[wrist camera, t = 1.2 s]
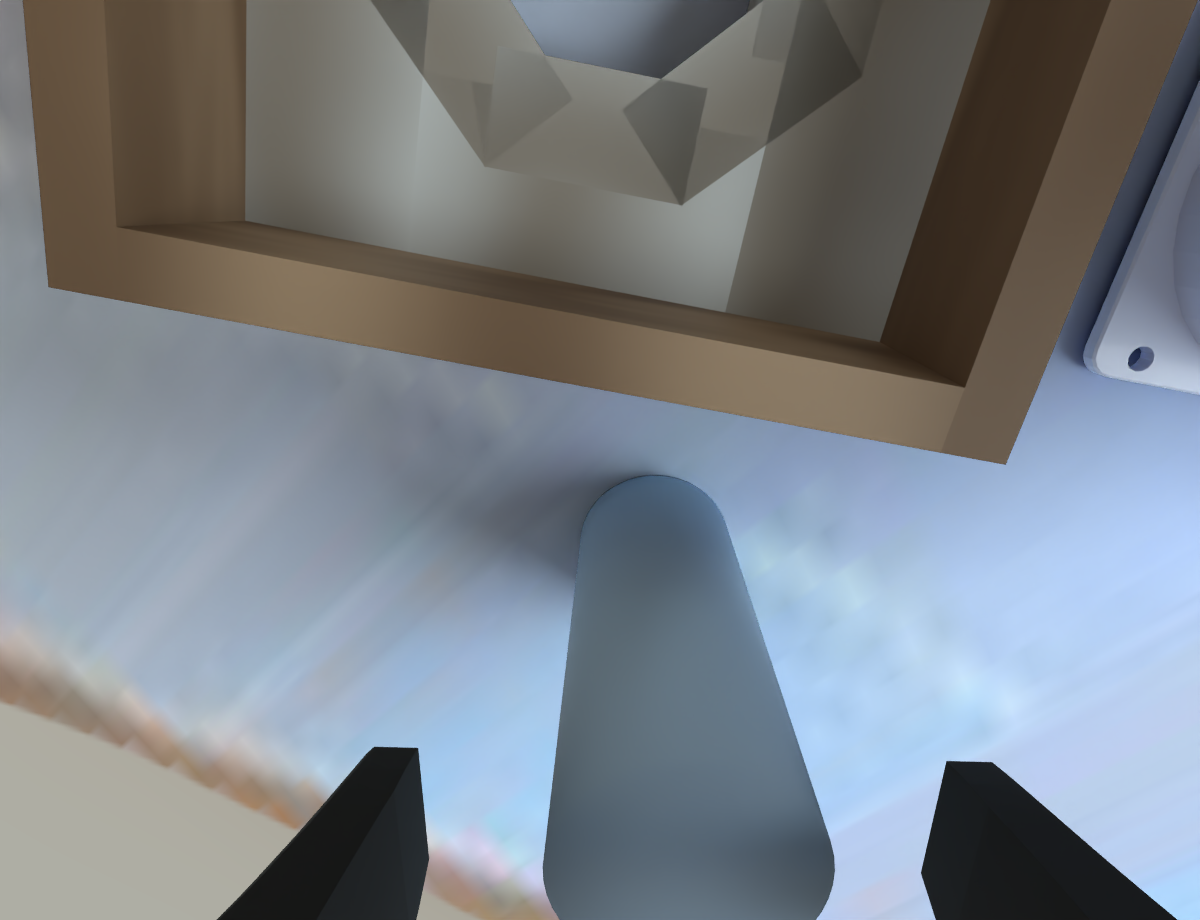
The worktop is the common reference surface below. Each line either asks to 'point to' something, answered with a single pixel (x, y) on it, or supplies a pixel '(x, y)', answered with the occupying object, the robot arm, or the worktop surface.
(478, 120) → the box
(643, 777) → the peg
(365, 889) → the robot arm
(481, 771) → the worktop surface
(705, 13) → the worktop surface
